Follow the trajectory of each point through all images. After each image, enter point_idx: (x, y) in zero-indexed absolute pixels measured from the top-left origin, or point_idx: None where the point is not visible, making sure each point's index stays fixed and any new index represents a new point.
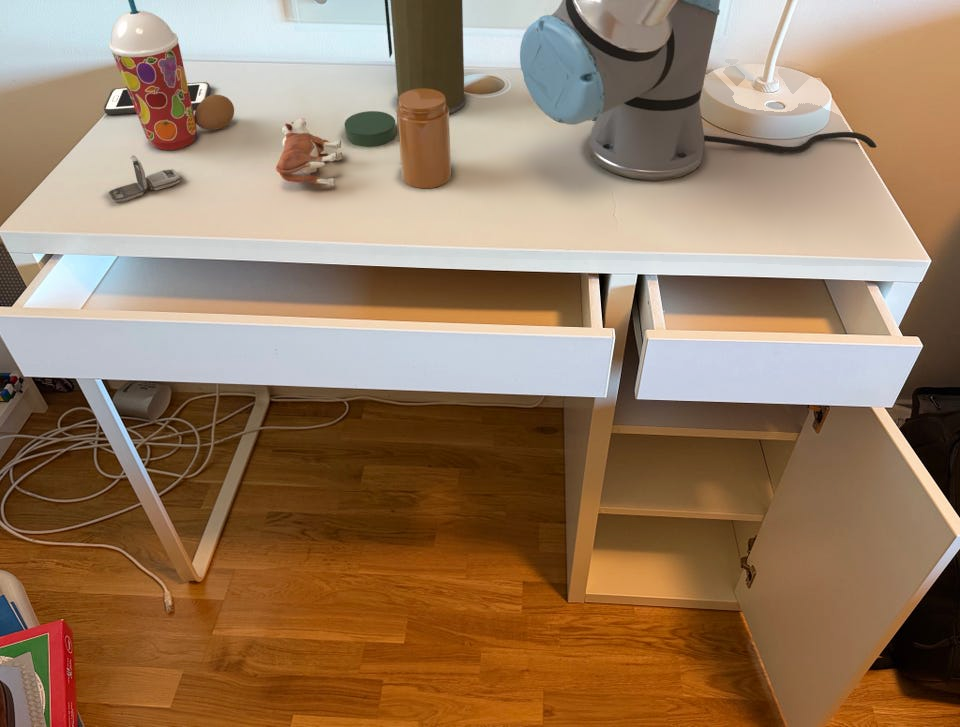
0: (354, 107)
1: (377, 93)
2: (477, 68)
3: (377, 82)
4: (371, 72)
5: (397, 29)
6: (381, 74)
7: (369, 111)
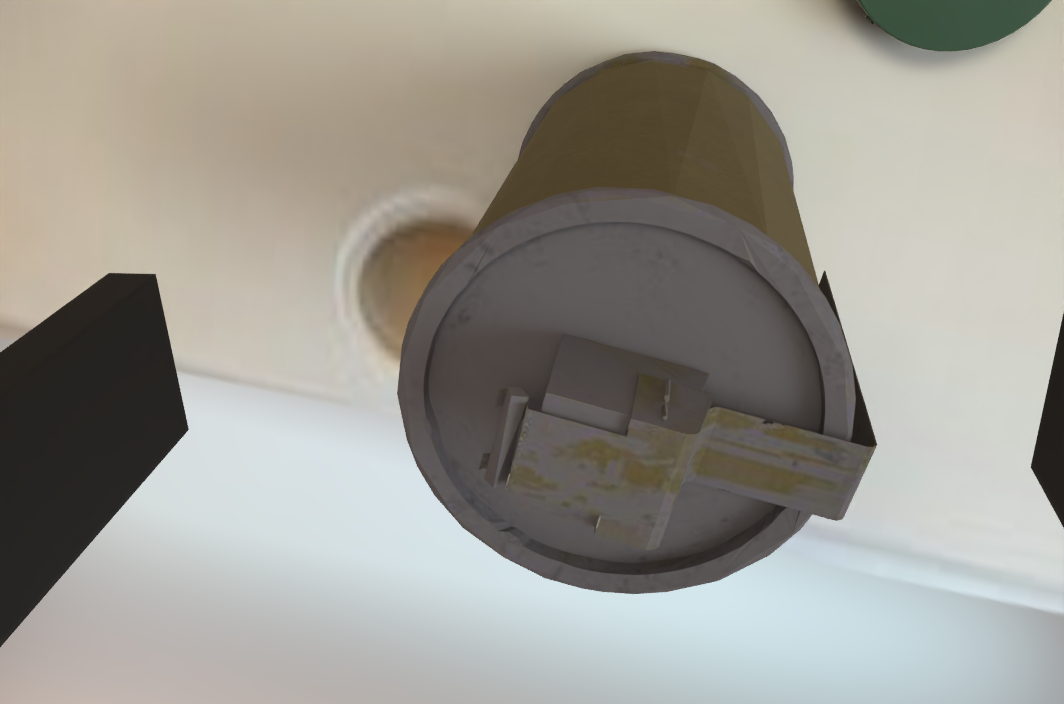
0: (972, 199)
1: (854, 304)
2: None
3: None
4: None
5: (803, 237)
6: None
7: (944, 47)
